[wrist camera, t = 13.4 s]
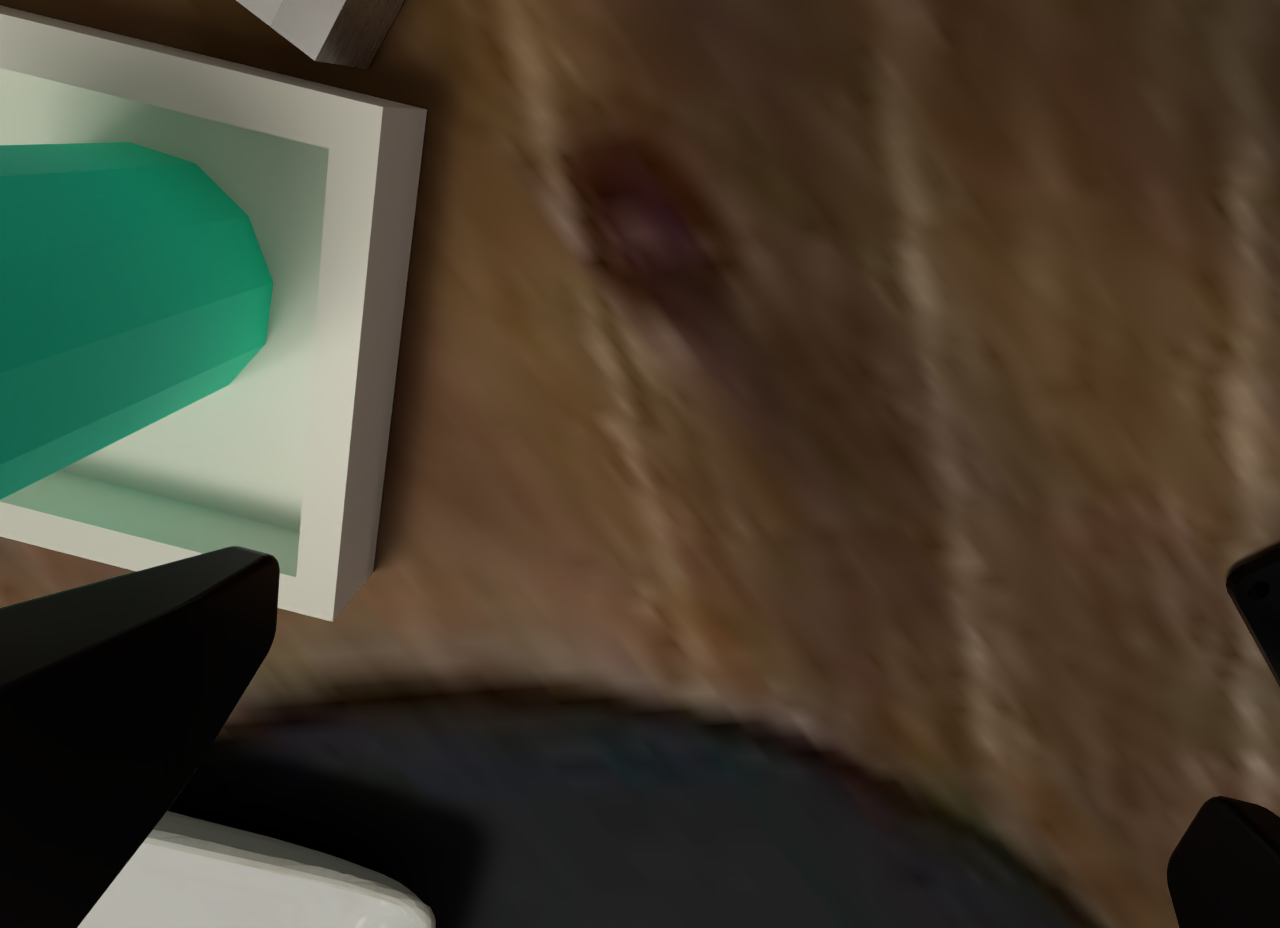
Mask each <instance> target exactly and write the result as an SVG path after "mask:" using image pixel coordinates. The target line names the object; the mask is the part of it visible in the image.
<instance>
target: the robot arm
mask: <svg viewBox="0 0 1280 928" xmlns="http://www.w3.org/2000/svg"><path fill="white" fill-rule="evenodd" d="M279 577H280V568H279V563H278V561H277V559H276V558H275V557H274V556H273V555H271V554H268V553H264V552H260V551H256V550H252V549H248V548H244V547H240V546H230V547H226V548H223V549H219V550H215V551H211V552H208V553H204V554H200V555H196V556H193V557H189V558H185V559H182V560H178V561H174V562H170V563H167V564H163V565H159V566H155V567H152V568H148V569H144V570H141V571H137V572H133V573H129V574H126V575H122V576H118V577H115V578H111V579H107V580H103V581H100V582H96V583H92V584H88V585H85V586H81V587H77V588H74V589H70V590H66V591H62V592H59V593H55V594H51V595H47V596H44V597H40V598H36V599H33V600H29V601H25V602H21V603H18V604H14V605H10V606H7V607H3V608H0V928H77V927H78V926H79V925H80V923H81V922H82V921H83V920H84V918H85V917H86V916H87V914H88V913H89V912H90V911H91V909H92V908H93V907H94V905H95V904H96V903H97V901H98V900H99V899H100V898H101V896H102V895H103V894H104V892H105V891H106V890H107V889H108V887H109V886H110V885H111V883H112V882H113V881H114V879H115V878H116V877H117V876H118V874H119V873H120V872H121V870H122V869H123V868H124V866H125V865H126V864H127V863H128V861H129V860H130V859H131V857H132V856H133V855H134V854H135V852H136V851H137V850H138V848H139V847H140V846H141V844H142V843H143V842H144V841H145V839H146V838H147V837H148V835H149V834H150V833H151V832H152V830H153V829H154V828H155V826H156V825H157V824H158V822H159V821H160V820H161V819H162V817H163V816H164V815H165V813H166V812H167V811H168V809H169V808H170V807H171V805H172V804H173V803H174V801H175V800H176V799H177V797H178V796H179V794H180V793H181V792H182V790H183V789H184V788H185V786H186V785H187V783H188V782H189V780H190V778H191V777H192V775H193V774H194V772H195V771H196V769H197V768H198V766H199V765H200V763H201V761H202V760H203V758H204V756H205V755H206V753H207V752H208V750H209V748H210V747H211V745H212V743H213V742H214V740H215V739H216V737H217V735H218V734H219V732H220V730H221V729H222V727H223V725H224V724H225V722H226V721H227V719H228V717H229V716H230V714H231V712H232V711H233V709H234V708H235V706H236V704H237V703H238V701H239V699H240V698H241V696H242V695H243V693H244V691H245V690H246V688H247V686H248V685H249V683H250V681H251V680H252V678H253V677H254V675H255V673H256V672H257V670H258V668H259V667H260V665H261V664H262V662H263V660H264V659H265V657H266V655H267V654H268V652H269V650H270V647H271V645H272V642H273V640H274V636H275V632H276V623H277V608H278V593H279ZM1256 581H1260V584H1259V585H1258V587H1257V588H1255V589H1254V590H1251V591H1246V590H1247V588H1248V586H1249V585H1250V584H1252V583H1253V582H1256ZM1226 588H1227V592H1228V593H1229V595H1230V597H1231V599H1232V601H1233V603H1234V604H1235V606H1236V608H1237V610H1238V612H1239V613H1240V615H1241V617H1242V619H1243V621H1244V623H1245V624H1246V626H1247V628H1248V630H1249V632H1250V634H1251V635H1252V637H1253V639H1254V641H1255V643H1256V644H1257V646H1258V648H1259V650H1260V652H1261V654H1262V655H1263V657H1264V659H1265V661H1266V663H1267V665H1268V666H1269V668H1270V670H1271V672H1272V674H1273V675H1274V677H1275V679H1276V681H1277V683H1278V685H1279V686H1280V548H1279V549H1277V550H1274V551H1272V552H1270V553H1268V554H1266V555H1264V556H1261V557H1259V558H1257V559H1255V560H1253V561H1251V562H1248V563H1246V564H1244V565H1242V566H1240V567H1238V568H1237V569H1235V570H1234V571H1232V573H1231V574H1230V575H1229V577H1228V578H1227V582H1226ZM1167 882H1168V887H1169V891H1170V895H1171V898H1172V902H1173V906H1174V909H1175V913H1176V916H1177V920H1178V924H1179V927H1180V928H1280V817H1278V816H1277V815H1275V814H1274V813H1273V812H1271V811H1270V810H1268V809H1266V808H1264V807H1262V806H1259V805H1257V804H1253V803H1249V802H1245V801H1241V800H1236V799H1232V798H1228V797H1224V796H1218V797H1213V798H1211V799H1209V800H1208V801H1206V802H1205V803H1204V804H1203V806H1202V807H1201V808H1200V810H1199V812H1198V813H1197V815H1196V816H1195V818H1194V820H1193V821H1192V823H1191V824H1190V826H1189V828H1188V829H1187V831H1186V832H1185V834H1184V836H1183V837H1182V839H1181V840H1180V842H1179V843H1178V845H1177V847H1176V848H1175V850H1174V851H1173V853H1172V855H1171V857H1170V860H1169V863H1168V869H1167Z"/></svg>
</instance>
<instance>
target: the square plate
mask: <svg viewBox="0 0 1280 928" xmlns="http://www.w3.org/2000/svg"><path fill="white" fill-rule="evenodd" d="M77 928H436V921H435V917H434V914H433V912H432V910H431V908H430V907H429V906H428V905H426V904H424V903H423V902H422V901H421V900H420V898H419V897H417V896H416V895H415V894H414V893H413V892H412V891H411V890H409V889H408V888H407V887H405V886H404V885H403V884H401V883H400V882H398V881H396V880H394V879H392V878H390V877H388V876H386V875H384V874H381V873H379V872H376V871H373V870H371V869H368V868H365V867H363V866H360V865H357V864H354V863H352V862H349V861H346V860H344V859H341V858H338V857H335V856H332V855H329V854H326V853H323V852H319V851H316V850H313V849H309V848H306V847H302V846H299V845H295V844H292V843H289V842H285V841H282V840H278V839H275V838H271V837H267V836H264V835H260V834H256V833H252V832H248V831H244V830H240V829H236V828H232V827H228V826H224V825H220V824H216V823H212V822H208V821H204V820H200V819H197V818H193V817H189V816H185V815H181V814H177V813H174V812H170V811H167V812H166V813H165V815H164V816H163V817H162V819H161V820H160V821H159V822H158V824H157V825H156V826H155V828H154V829H153V830H152V832H151V833H150V834H149V835H148V837H147V838H146V839H145V841H144V842H143V843H142V844H141V846H140V847H139V848H138V850H137V851H136V852H135V854H134V855H133V856H132V857H131V859H130V860H129V861H128V863H127V864H126V865H125V866H124V868H123V869H122V870H121V872H120V873H119V874H118V876H117V877H116V878H115V879H114V881H113V882H112V883H111V885H110V886H109V887H108V889H107V890H106V891H105V892H104V894H103V895H102V896H101V898H100V899H99V900H98V901H97V903H96V904H95V905H94V907H93V908H92V909H91V911H90V912H89V913H88V914H87V916H86V917H85V918H84V920H83V921H82V922H81V923H80V925H79V926H78V927H77Z"/></svg>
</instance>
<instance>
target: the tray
mask: <svg viewBox="0 0 1280 928" xmlns="http://www.w3.org/2000/svg"><path fill="white" fill-rule="evenodd" d="M426 115H427V109H423V108H419V107H415V106H411V105H407V104H402V103H398V102H394V101H390V100H386V99H382V98H378V97H374V96H370V95H366V94H362V93H357V92H353V91H349V90H345V89H341V88H337V87H333V86H329V85H325V84H321V83H316V82H312V81H308V80H304V79H300V78H296V77H292V76H288V75H284V74H280V73H276V72H271V71H267V70H263V69H259V68H255V67H251V66H247V65H243V64H239V63H235V62H231V61H226V60H222V59H218V58H214V57H210V56H206V55H202V54H198V53H194V52H190V51H185V50H181V49H177V48H173V47H169V46H165V45H161V44H157V43H153V42H149V41H145V40H140V39H136V38H132V37H128V36H124V35H120V34H116V33H112V32H108V31H104V30H100V29H95V28H91V27H87V26H83V25H79V24H75V23H71V22H67V21H63V20H59V19H54V18H50V17H46V16H42V15H38V14H34V13H30V12H26V11H22V10H18V9H14V8H9V7H5V6H1V5H0V145H30V144H71V143H111V142H131V143H134V144H137V145H140V146H143V147H147V148H150V149H153V150H156V151H159V152H162V153H165V154H168V155H171V156H174V157H177V158H180V159H183V160H187V161H190V162H193V163H196V164H197V165H198V166H199V167H200V168H201V169H202V170H203V171H204V172H205V173H206V174H207V175H208V176H209V177H210V178H211V179H212V180H213V181H214V182H215V183H216V184H217V185H218V186H219V187H220V188H221V189H222V190H223V191H224V192H225V193H226V194H227V195H228V196H229V197H230V198H231V199H232V200H233V201H234V202H235V203H236V204H237V205H238V206H239V207H240V208H241V209H242V210H243V211H244V212H245V213H246V214H247V215H248V216H249V219H250V221H251V224H252V227H253V229H254V232H255V235H256V237H257V240H258V243H259V245H260V248H261V251H262V253H263V256H264V259H265V261H266V264H267V267H268V269H269V272H270V275H271V277H272V280H273V290H272V298H271V306H270V314H269V321H268V329H267V337H266V344H265V345H264V346H263V347H262V349H261V350H260V351H259V352H258V353H257V354H256V355H255V356H254V358H253V359H252V360H251V361H250V362H249V363H248V364H247V365H246V367H245V368H244V369H243V370H242V371H241V372H240V373H239V374H238V376H237V377H236V378H235V379H234V380H233V381H232V382H231V383H230V384H229V385H228V386H226V387H224V388H222V389H220V390H218V391H216V392H214V393H212V394H210V395H208V396H206V397H204V398H202V399H200V400H198V401H196V402H194V403H192V404H190V405H188V406H186V407H184V408H182V409H180V410H178V411H176V412H174V413H172V414H170V415H168V416H166V417H164V418H162V419H160V420H158V421H156V422H154V423H152V424H150V425H148V426H146V427H144V428H142V429H140V430H138V431H136V432H134V433H132V434H130V435H128V436H126V437H124V438H122V439H120V440H118V441H116V442H114V443H112V444H110V445H108V446H107V447H105V448H103V449H101V450H99V451H97V452H95V453H93V454H91V455H89V456H87V457H85V458H83V459H81V460H79V461H77V462H75V463H73V464H71V465H69V466H67V467H65V468H63V469H61V470H59V471H57V472H55V473H53V474H51V475H49V476H47V477H45V478H43V479H41V480H39V481H37V482H35V483H33V484H31V485H29V486H27V487H25V488H23V489H21V490H19V491H17V492H15V493H13V494H11V495H9V496H7V497H5V498H3V499H1V500H0V536H1V537H5V538H9V539H12V540H16V541H20V542H24V543H28V544H32V545H36V546H40V547H44V548H47V549H51V550H55V551H59V552H63V553H67V554H71V555H75V556H79V557H82V558H86V559H90V560H94V561H98V562H102V563H106V564H110V565H114V566H118V567H121V568H125V569H129V570H133V571H141V570H144V569H148V568H152V567H155V566H159V565H163V564H167V563H170V562H174V561H178V560H182V559H185V558H189V557H193V556H196V555H200V554H204V553H208V552H211V551H215V550H219V549H223V548H226V547H230V546H240V547H244V548H248V549H252V550H256V551H260V552H264V553H268V554H271V555H273V556H274V557H275V558H276V559H277V561H278V563H279V568H280V577H279V593H278V608H281V609H285V610H289V611H293V612H297V613H300V614H304V615H308V616H312V617H316V618H320V619H324V620H328V621H332V622H333V621H334V619H335V618H336V617H337V616H338V615H339V613H340V612H341V611H342V610H343V609H344V607H345V606H346V605H347V604H348V603H349V601H350V600H351V599H352V598H353V596H354V595H355V594H356V593H357V592H358V590H359V589H360V588H361V587H362V586H363V584H364V583H365V582H366V581H367V580H368V578H369V577H370V576H371V575H372V573H373V569H374V561H375V552H376V543H377V535H378V526H379V518H380V509H381V501H382V492H383V483H384V475H385V466H386V458H387V449H388V440H389V432H390V423H391V415H392V406H393V398H394V389H395V380H396V372H397V363H398V355H399V346H400V338H401V329H402V320H403V312H404V303H405V295H406V286H407V278H408V269H409V260H410V252H411V243H412V235H413V226H414V218H415V209H416V200H417V192H418V183H419V175H420V166H421V158H422V149H423V140H424V132H425V123H426Z"/></svg>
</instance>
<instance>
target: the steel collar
mask: <svg viewBox="0 0 1280 928" xmlns="http://www.w3.org/2000/svg"><path fill="white" fill-rule="evenodd" d="M236 1H237V2H239V3H240V4H241V5H243V6H244V7H245V8H247V9H248V10H249V11H250V12H252V13H253V14H254V15H256V16H257V17H258V18H260V19H261V20H262V21H263V22H265V23H266V24H267V25H269V26H270V27H271V28H273V29H274V30H275V31H277V32H278V33H279V34H280V35H282V36H283V37H284V38H286V39H287V40H288V41H290V42H291V43H292V44H293V45H295V46H296V47H297V48H299V49H300V50H301V51H303V52H304V53H305V54H306V55H308V56H309V57H310V58H312V59H313V60H314V61H319V62H325V63H332V64H338V65H345V66H351V67H358V68H364V69H368V68H369V66H370V64H371V62H372V60H373V58H374V57H375V55H376V53H377V51H378V49H379V47H380V46H381V44H382V42H383V40H384V38H385V36H386V34H387V33H388V31H389V29H390V27H391V25H392V23H393V22H394V20H395V18H396V16H397V14H398V12H399V10H400V9H401V7H402V5H403V3H404V1H405V0H236Z"/></svg>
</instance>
